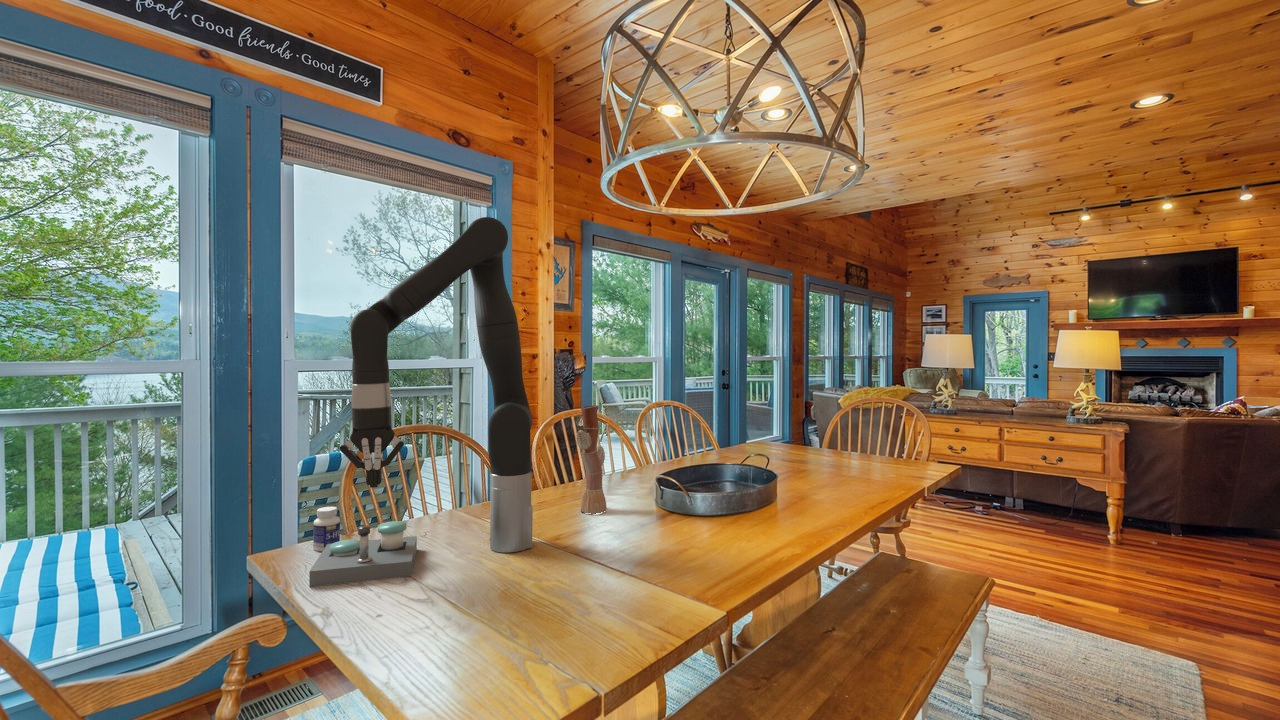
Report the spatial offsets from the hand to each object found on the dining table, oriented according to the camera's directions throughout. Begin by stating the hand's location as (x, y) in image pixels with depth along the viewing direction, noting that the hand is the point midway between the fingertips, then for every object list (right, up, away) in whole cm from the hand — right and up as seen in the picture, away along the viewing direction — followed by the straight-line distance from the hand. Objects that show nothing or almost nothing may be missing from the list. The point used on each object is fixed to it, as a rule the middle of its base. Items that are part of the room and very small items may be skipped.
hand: (374, 486), depth 120 cm
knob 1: (-5, -16, -1) cm, 17 cm away
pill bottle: (-15, -16, +9) cm, 24 cm away
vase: (+42, -16, +39) cm, 60 cm away
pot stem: (+1, -13, -7) cm, 15 cm away
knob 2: (+3, -13, +1) cm, 13 cm away
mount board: (-1, -16, -2) cm, 16 cm away
